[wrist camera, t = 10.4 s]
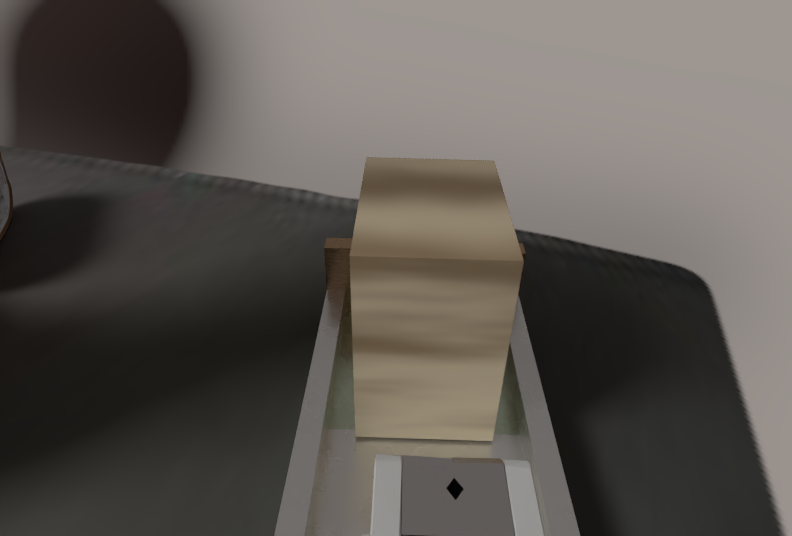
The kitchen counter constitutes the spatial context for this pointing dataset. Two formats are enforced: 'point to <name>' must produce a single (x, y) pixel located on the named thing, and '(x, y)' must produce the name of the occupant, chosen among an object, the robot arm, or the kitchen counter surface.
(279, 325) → the kitchen counter surface
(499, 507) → the robot arm
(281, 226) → the kitchen counter surface
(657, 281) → the kitchen counter surface
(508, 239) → the block
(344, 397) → the bay
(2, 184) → the tin
